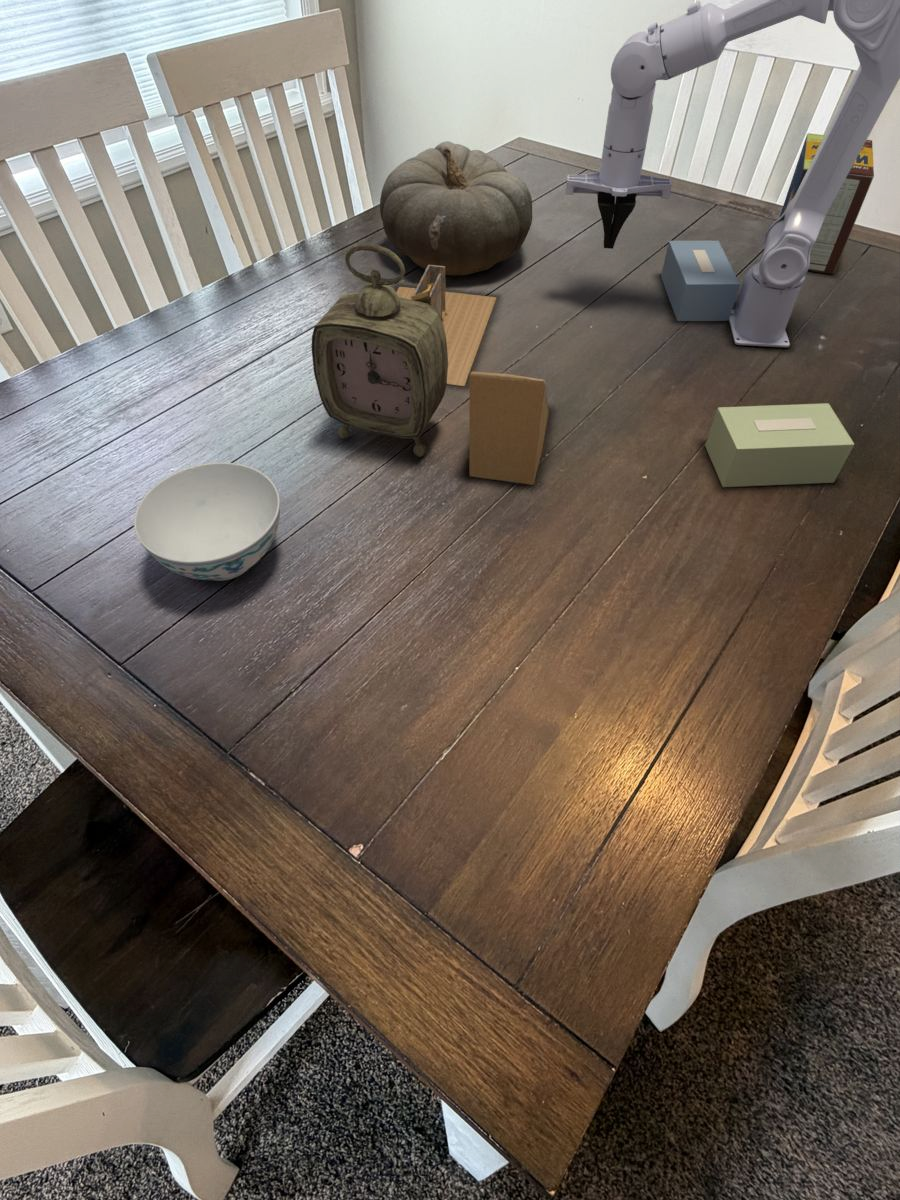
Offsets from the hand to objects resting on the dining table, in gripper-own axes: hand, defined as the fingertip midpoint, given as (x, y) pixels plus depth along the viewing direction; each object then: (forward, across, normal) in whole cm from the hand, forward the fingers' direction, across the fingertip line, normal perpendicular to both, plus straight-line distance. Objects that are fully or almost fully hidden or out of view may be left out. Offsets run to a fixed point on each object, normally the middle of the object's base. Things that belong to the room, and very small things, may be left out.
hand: (608, 245), depth 110 cm
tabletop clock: (+10, -28, -36) cm, 47 cm away
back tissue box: (+9, +15, +4) cm, 18 cm away
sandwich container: (+10, -12, -36) cm, 39 cm away
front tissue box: (+9, +21, -37) cm, 43 cm away
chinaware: (+10, -43, -60) cm, 74 cm away
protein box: (+10, +36, +22) cm, 43 cm away
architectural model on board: (+10, -26, -11) cm, 30 cm away
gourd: (+10, -24, +14) cm, 29 cm away
